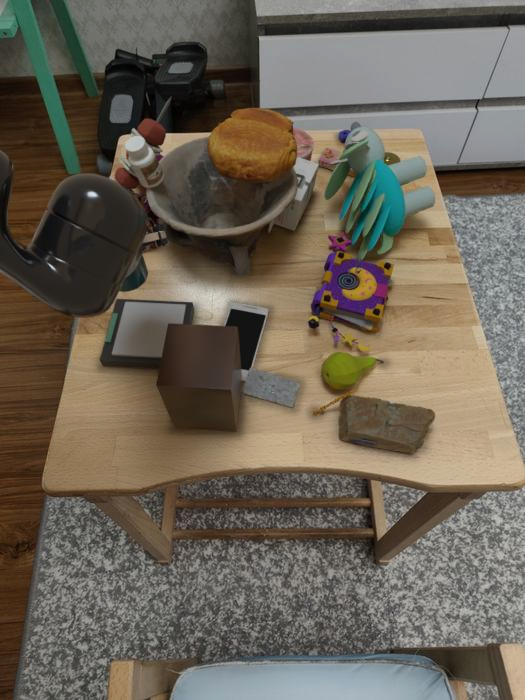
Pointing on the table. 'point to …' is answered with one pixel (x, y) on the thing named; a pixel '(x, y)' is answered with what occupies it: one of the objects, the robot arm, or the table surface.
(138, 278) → the jar
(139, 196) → the toy car
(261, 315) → the smartphone
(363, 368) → the fruit
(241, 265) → the bowl
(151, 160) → the pill bottle
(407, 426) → the stone
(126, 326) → the scale
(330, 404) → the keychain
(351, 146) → the teal bird figurine
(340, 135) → the blue irregular piece
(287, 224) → the ink box
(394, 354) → the table surface
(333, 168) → the toy
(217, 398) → the stand
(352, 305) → the book
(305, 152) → the container
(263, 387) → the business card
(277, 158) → the bread loaf
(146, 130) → the skewer
